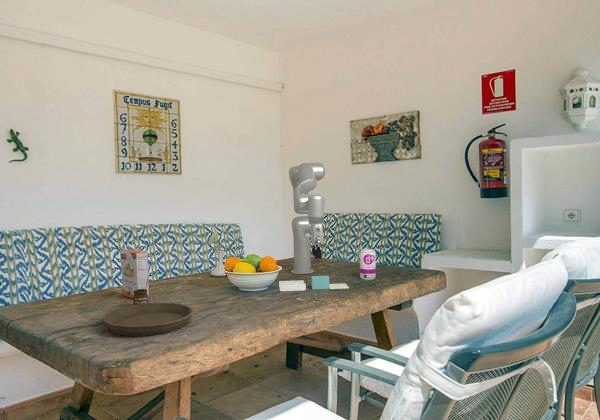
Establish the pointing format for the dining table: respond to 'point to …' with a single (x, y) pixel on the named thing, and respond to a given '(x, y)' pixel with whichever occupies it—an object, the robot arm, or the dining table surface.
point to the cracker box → (134, 271)
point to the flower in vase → (220, 267)
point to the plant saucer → (147, 318)
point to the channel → (292, 285)
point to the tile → (338, 286)
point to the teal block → (320, 282)
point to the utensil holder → (140, 295)
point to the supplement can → (367, 264)
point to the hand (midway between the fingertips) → (316, 257)
